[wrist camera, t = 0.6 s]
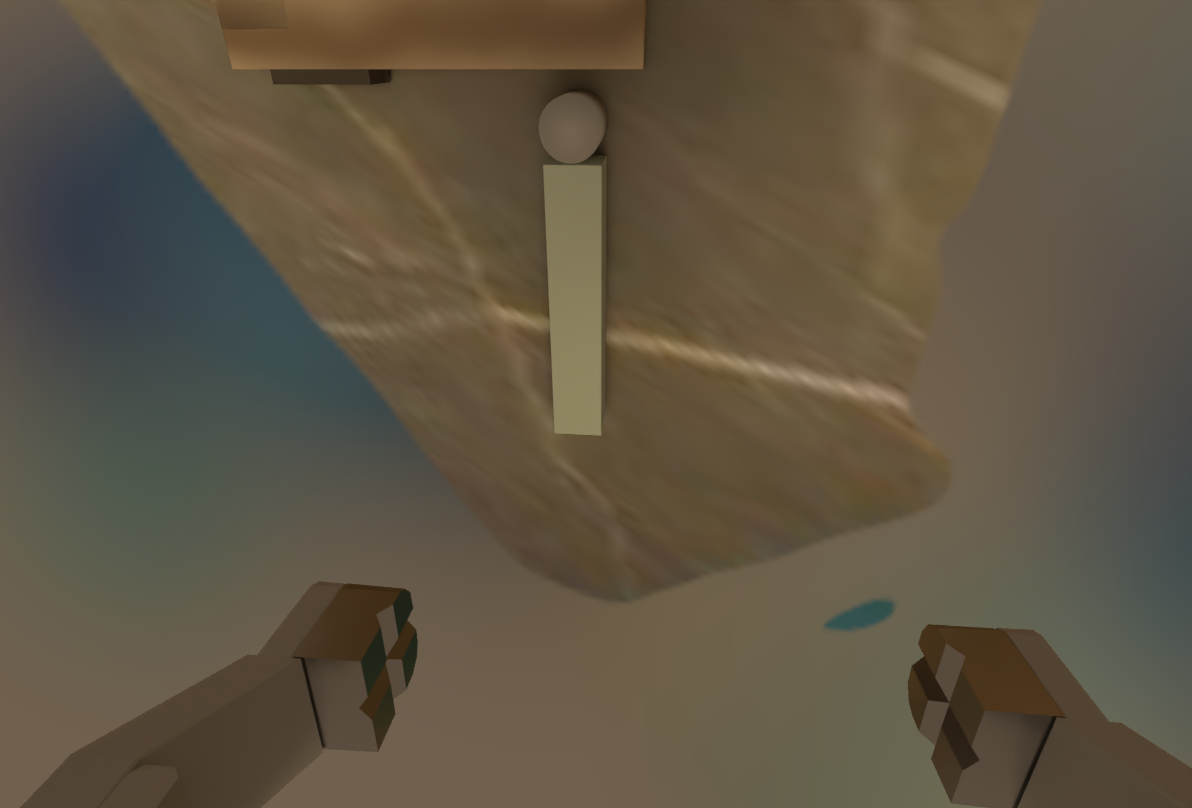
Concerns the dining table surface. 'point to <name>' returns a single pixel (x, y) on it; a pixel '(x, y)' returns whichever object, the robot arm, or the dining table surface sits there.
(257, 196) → the dining table surface
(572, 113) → the folding leg
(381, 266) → the dining table surface
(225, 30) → the l-shaped wooden joint
